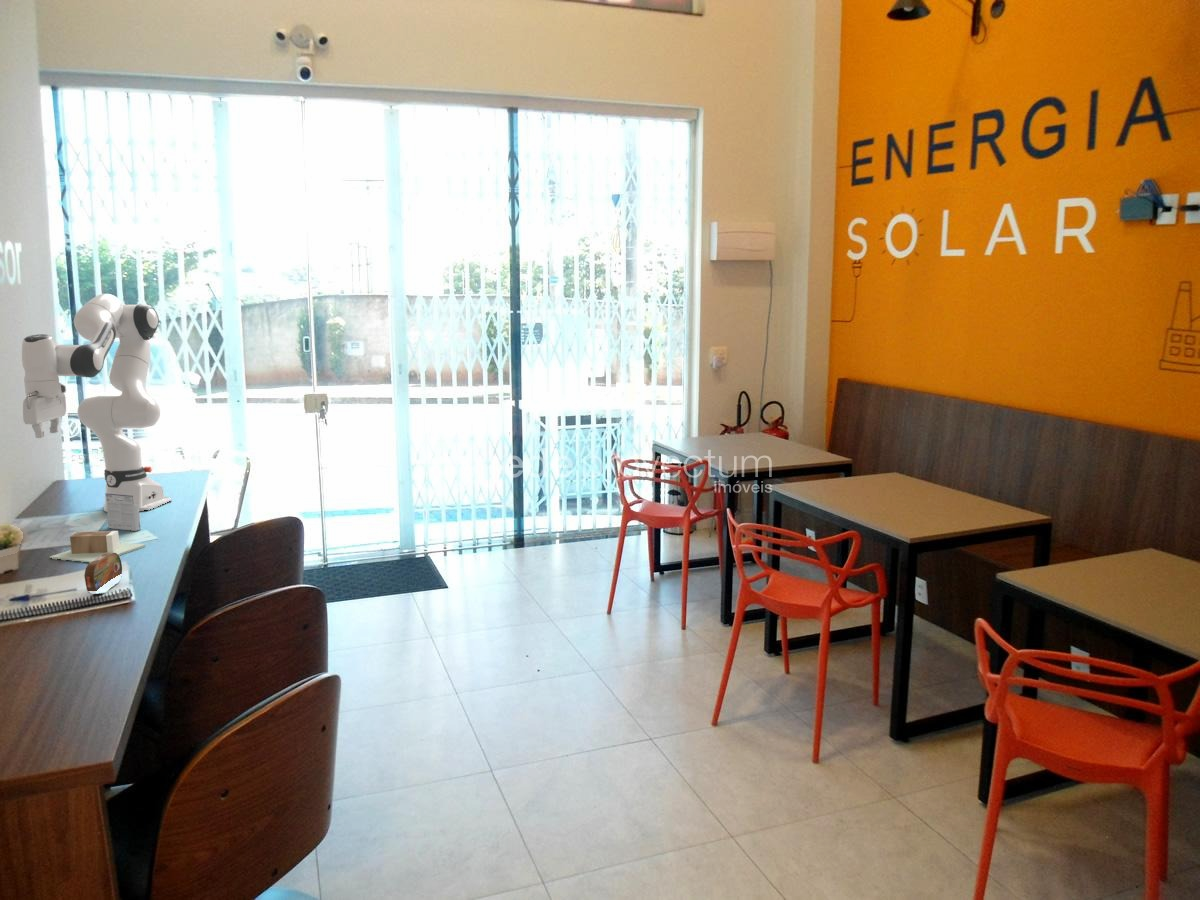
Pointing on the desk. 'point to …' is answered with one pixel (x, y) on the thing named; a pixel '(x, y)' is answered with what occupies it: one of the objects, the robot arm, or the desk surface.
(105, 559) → the tin
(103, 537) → the walnut block
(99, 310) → the robot arm
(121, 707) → the desk surface
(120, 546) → the sage mat
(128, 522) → the ink box
